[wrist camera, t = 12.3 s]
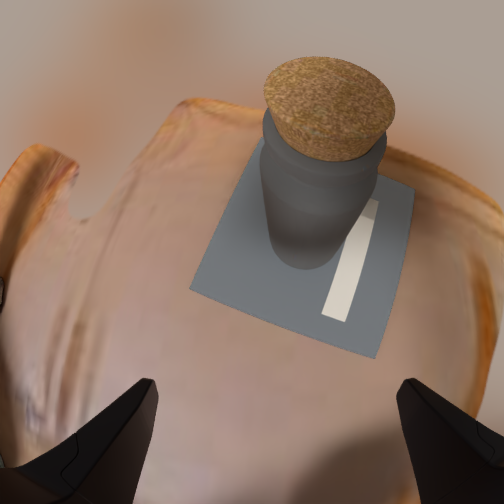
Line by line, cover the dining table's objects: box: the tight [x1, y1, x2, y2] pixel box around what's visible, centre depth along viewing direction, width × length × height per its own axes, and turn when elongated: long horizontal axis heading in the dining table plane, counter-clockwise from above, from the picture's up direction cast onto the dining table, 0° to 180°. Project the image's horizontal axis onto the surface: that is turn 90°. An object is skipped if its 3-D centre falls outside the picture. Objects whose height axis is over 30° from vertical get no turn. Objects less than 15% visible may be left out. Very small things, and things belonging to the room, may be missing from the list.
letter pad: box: [189, 137, 415, 359], centre depth 22 cm, size 16×16×1 cm
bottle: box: [259, 57, 395, 270], centre depth 15 cm, size 6×6×15 cm
